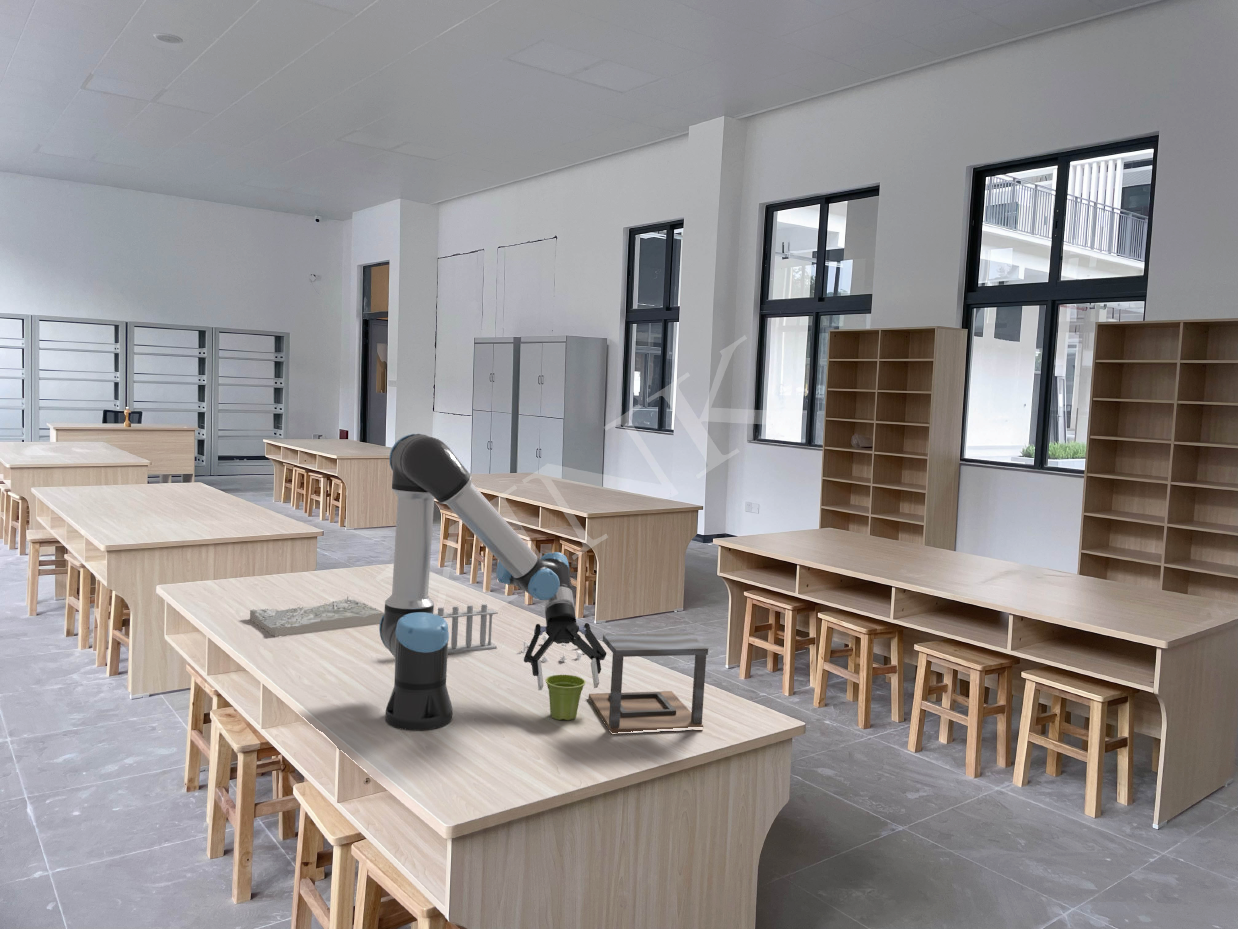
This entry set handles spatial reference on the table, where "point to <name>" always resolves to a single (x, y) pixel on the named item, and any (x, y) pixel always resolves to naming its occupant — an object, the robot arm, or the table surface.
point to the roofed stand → (650, 706)
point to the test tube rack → (469, 628)
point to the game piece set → (544, 658)
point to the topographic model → (316, 617)
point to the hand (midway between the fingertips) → (569, 686)
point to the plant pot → (564, 695)
